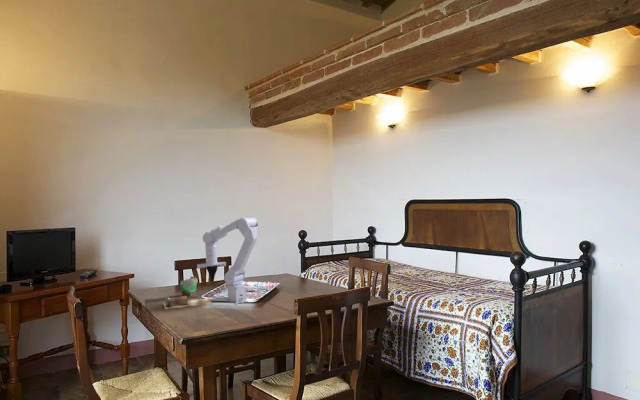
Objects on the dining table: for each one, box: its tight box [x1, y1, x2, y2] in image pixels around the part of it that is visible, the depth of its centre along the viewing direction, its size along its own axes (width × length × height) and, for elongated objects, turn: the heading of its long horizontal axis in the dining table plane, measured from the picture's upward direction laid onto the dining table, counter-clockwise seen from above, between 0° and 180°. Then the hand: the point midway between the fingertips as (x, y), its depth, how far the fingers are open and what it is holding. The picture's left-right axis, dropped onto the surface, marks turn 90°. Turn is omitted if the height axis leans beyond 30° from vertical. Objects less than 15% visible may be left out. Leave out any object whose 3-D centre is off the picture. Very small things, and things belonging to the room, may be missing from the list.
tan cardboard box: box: [169, 296, 189, 307], centre depth 222 cm, size 8×6×3 cm
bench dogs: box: [164, 296, 170, 307], centre depth 220 cm, size 2×6×4 cm, turn 22°
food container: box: [179, 276, 199, 297], centre depth 243 cm, size 12×6×10 cm, turn 168°
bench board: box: [163, 297, 213, 310], centre depth 224 cm, size 22×12×2 cm, turn 112°
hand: (212, 280), depth 238 cm, fingers closed
